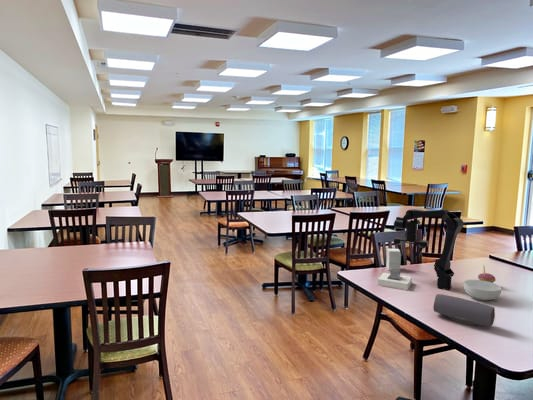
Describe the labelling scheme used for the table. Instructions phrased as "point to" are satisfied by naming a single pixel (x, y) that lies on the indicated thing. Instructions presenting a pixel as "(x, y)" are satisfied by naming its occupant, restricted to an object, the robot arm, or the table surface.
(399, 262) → the white rectangular block
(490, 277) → the cupcake
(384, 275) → the square frame
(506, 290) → the table surface
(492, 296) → the cereal bowl
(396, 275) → the dark grey square post
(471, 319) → the bluetooth speaker
